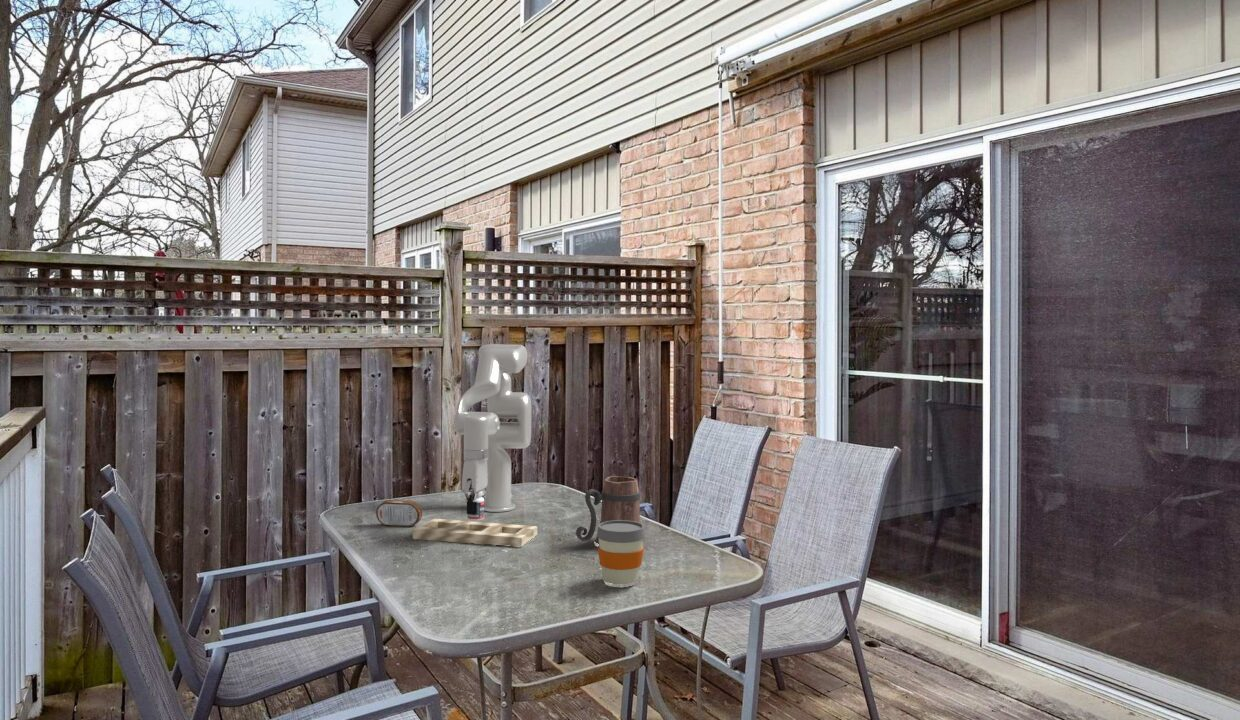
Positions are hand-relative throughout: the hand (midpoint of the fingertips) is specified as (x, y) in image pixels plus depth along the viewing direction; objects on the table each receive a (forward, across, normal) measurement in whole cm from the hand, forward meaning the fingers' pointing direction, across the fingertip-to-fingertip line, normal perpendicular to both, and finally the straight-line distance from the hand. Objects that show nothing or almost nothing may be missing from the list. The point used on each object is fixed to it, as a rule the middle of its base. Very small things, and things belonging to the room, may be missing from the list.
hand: (475, 511), depth 247 cm
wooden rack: (+8, 0, 0) cm, 8 cm away
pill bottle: (+3, 0, 0) cm, 3 cm away
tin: (+9, -6, -30) cm, 32 cm away
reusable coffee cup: (+8, +30, +54) cm, 62 cm away
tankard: (+8, -4, +43) cm, 44 cm away
